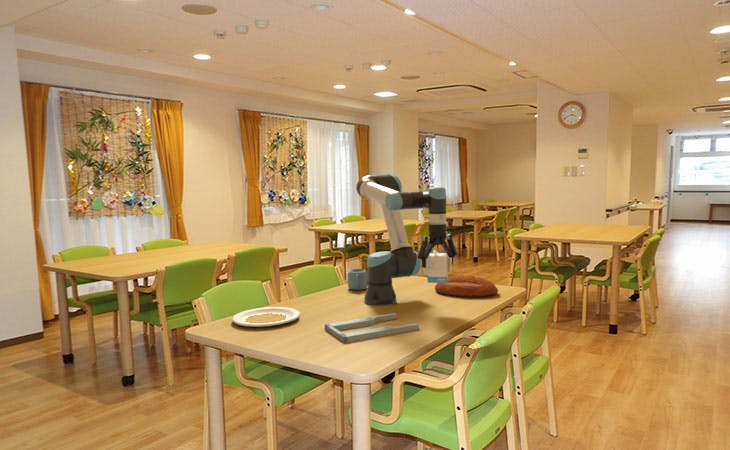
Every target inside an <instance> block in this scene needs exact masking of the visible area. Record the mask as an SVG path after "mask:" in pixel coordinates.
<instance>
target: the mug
mask: <svg viewBox="0 0 730 450" xmlns="http://www.w3.org/2000/svg"><path fill="white" fill-rule="evenodd" d="M347 287H348V288H349V289H350V290H352V291H360V290H367V287H368V273H367V270H366V269H361V268H355V269H350V270H348V273H347Z"/></svg>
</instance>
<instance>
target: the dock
mask: <svg viewBox="0 0 730 450" xmlns="http://www.w3.org/2000/svg"><path fill="white" fill-rule="evenodd" d="M397 317H398V316H397V313H395V312H394V313H388V314H381V315H375V316H367V317H362V318H356V319H349V320H342V321H337V322H332V323H331V322H330V323H324V330H325V331H327V332H328V333H330V334H331V335H332V336H334V337H335V338H336V339H338V340H340V341H341V342H342V343H344V344H346V343H350V342H354V341H355V342H356V341H362V340H366V339H374V338H377V337H378V338H379V337H383V336H384V337H385V336H389V335H395V334H399V333H400V334H401V333H406V332H412V331H417V330H420V325H419V323H411V324H410V323H409V324H403V325H400V326H399V325H398V326H382V327H375V328H374V327H373V328H370V329H363V330H362V329H361V330H357V331H352V332H346V333H343V332H341V330H342V331H343V330H348V329H354V328H361V327H365V326H373V325H375V324H376V323H377V322H383V321H384V322H385V321H391V320H396V319H397Z"/></svg>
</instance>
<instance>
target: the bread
mask: <svg viewBox="0 0 730 450" xmlns="http://www.w3.org/2000/svg"><path fill="white" fill-rule="evenodd" d="M434 290H435V291H436V292H438V293H441V294H444V295H447V296H453V297H463V298H475V297H476V298H478V297H488V296H489V297H490V296H492V295H495V294H497V293H498V292H499V289H498V288H497V286H496V284H494V283H493V282H492V281H491V280H488V279H485V278H483V277H477V276H474V275H464V274H463V275H462V274H460V275H452V276H448V280H447V283H435V286H434Z"/></svg>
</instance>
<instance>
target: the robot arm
mask: <svg viewBox="0 0 730 450" xmlns="http://www.w3.org/2000/svg"><path fill="white" fill-rule="evenodd" d="M355 189H356V190H355V191H356V193H357V194H358V195H359V197H361V198H364V199H366V200H370V199H371V200H372V201H373V200H374V201H376V202H377V203H378V204H379V205H380V206H381V208H382V213H383V218H384V222H385V226H386V231H387V234H388V238H389V243H390V247H391V249H390V251H388V250H387V251H386V250H385V251H378V252H373V253H371V254H370V255H368V256H367V261H366V267H367V270H366V272H367V278H368V287H367V288H366V291H365V295H364V303H365V304H368V305H374V306H384V305H385V306H387V305H391V304H394V303H396V302H397V294H396V292H395V288H394V286H393V279H399V278H405V277H406V278H408V277H413V276H416V275H418V274H419V272H420V270H421V268H422V271H423V273H422V274H423V275H424V276H426V277H427V276H428V260H427V258H428V256H429V254H430V253H432V251H433V250H434V247H436V246H441V247H442V248H443V250H444V252H445V253H448V255H447V257H448V273H452V272H453V269H452V268H453V266H452V265H453V264H454V258H455V257H456V256H457V255H458V252H457V249H456V247H455V243H454V241H453V234H452V233H451V234H450V233H447V224H446V223H447V191H446V190H447V189H446V188H445V187H441V186H439V187H429V188H428V189H427V190H428V191H425V190H419V191H407V192H404V191H403V190H402V189H403V185H402V181H401V179H400V178H399V177H398V176H397V175H395V174H389V173H388V174H368V175H364V176H362V177H361V178H360V179H359V180H358V181H357V183H356V187H355ZM402 191H403V192H402ZM417 209H418V210H420V209H428V223H429V224H428V235H427V236H426V235H425V236H424V235H422V241H421V243H420V248H419V251H418V252H417V251H415V250H414V248H413V246H412V245H411V244H409V240H408V237H407V236H408V235H407V232H406V227H405V224H404V221H403V216H402V212H401V211H402V210H417Z"/></svg>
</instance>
